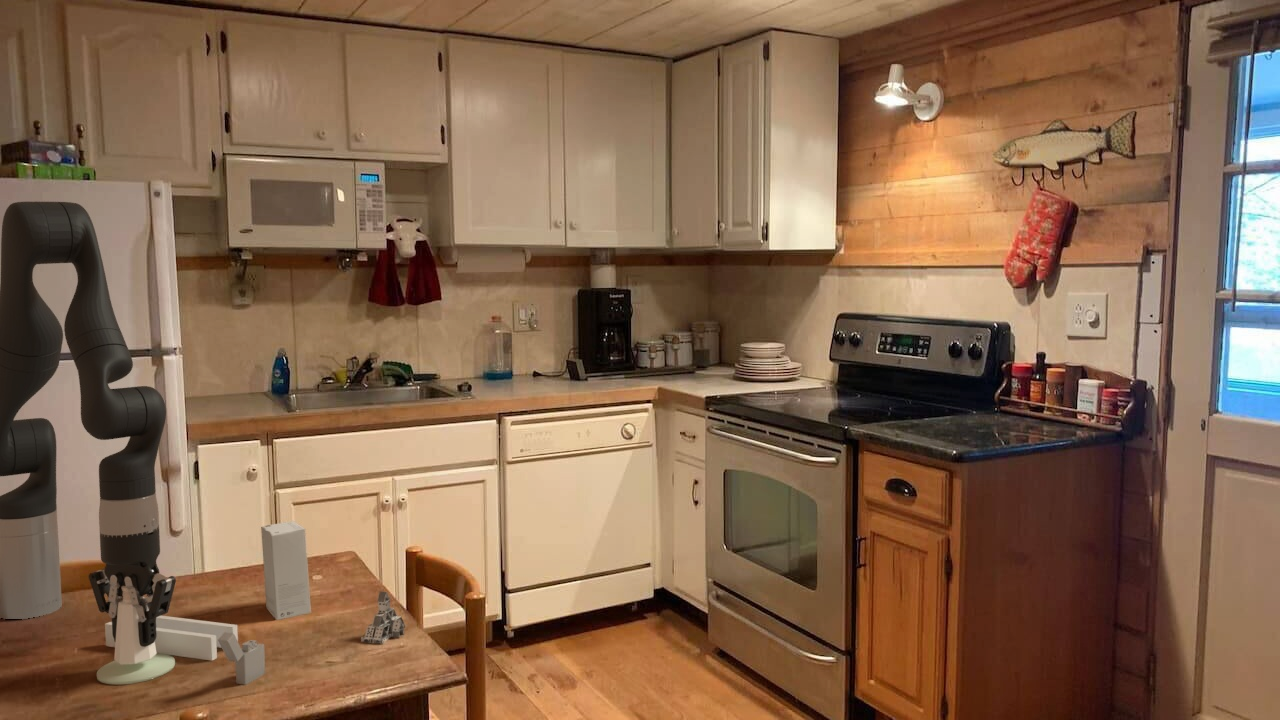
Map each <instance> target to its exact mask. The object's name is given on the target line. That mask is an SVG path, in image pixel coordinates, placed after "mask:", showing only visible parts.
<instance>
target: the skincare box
mask: <svg viewBox="0 0 1280 720" xmlns="http://www.w3.org/2000/svg"><path fill="white" fill-rule="evenodd" d="M260 533H261V544H262V546H261V547H262V559H263V562H262V563H263V576H264V577H263V578H264V591H265V604H266V607H265V608H266V609H267V610H268V612H269V613H270V614H271V615H272V617H273V618H274V619H275V620H276V621H280V620H285V619H289V618H290V619H291V618H294V617H298V616H303V615H308V614H312V610H311V609H312V608H311V597H310V581H309V579H310V577H309V566H308V565H309V564H308V553H307V539H306V538H307V537H306V534H307V533H306V528H304V527H303V526H302V525H300V524H298V523H297V522H296V521H294V520H293V521H286V522H279V523H274V524H273V523H272V524H267V525H262V526H260Z"/></svg>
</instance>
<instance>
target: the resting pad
mask: <svg viewBox="0 0 1280 720" xmlns="http://www.w3.org/2000/svg"><path fill="white" fill-rule="evenodd" d="M175 665H176V660H175V658H174V656H173V655H168V654H160V653H157V654H156V655H155V656H154V657H152V658H151V659H150V660H148V661H144V662H141V663H137V664H119V663H118V662H116V661H115V660H113V661H110V662H108V663H106V664H104V665H103V666H101V667H100V668H99V669H98V670H97V672H96V679H97V681H98V682H100V683H102V684H107V685H113V686H115V685H117V686H119V685H121V686H122V685H131V684H132V685H133V684H138V683H143V682H146V681H151V680H153V679H157V678H160V677H162V676H164V675H165V674H167V673H169V672H170V671H172V670H173V669H174V667H175Z"/></svg>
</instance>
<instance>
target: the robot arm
mask: <svg viewBox="0 0 1280 720" xmlns="http://www.w3.org/2000/svg"><path fill="white" fill-rule="evenodd" d="M0 250H1V251H0V477H8V476H9V477H10V476H18V475H24V474H29V476H28V478H27V479H26V480H25V481H24V482H23V483H22V484H21V485H19V486H18V487H16V488H14V489H12V490H10V491H8V492H6V493H4V494H1V495H0V617H1V618H4V619H3V620H5V619H22V620H28V618H30V619H34V618H33V617H35V618H40V617H43V615H44V616H47V615H50V614H52V613H54V612H56V611H58V610H60V609H61V608H62V606H63V604H62V603H63V601H62V580H61V566H60V565H61V563H60V559H61V558H60V545H59V541H60V540H59V528H58V526H59V525H58V510H57V509H58V507H57V495H58V494H57V489H58V488H57V487H58V486H57V438H56V437H57V436H56V431H55V428H54V426H53V424H52V423H51V421H50V420H49V419H47V418H44V417H37V418H36V417H35V418H24V419H23V418H22V419H15V417H16V416H17V414H18V413H19V411H20V410H21V409H22V407H23V406H24V405H25V404H27V403H28V401H30V400H31V399H32V397H34V396H35V395H36V394H37V393H38V392H39V391H40V390H42V388H43V387H44V386H45V385H46V384H47V383H48V382H49V381H50V380H51V379H52V377H53V376H54V375H55V374H56V372H57V369H58V368H59V365H60V360H61V353H62V348H63V347H62V346H63V343H64V342H63V341H64V336H65V341H66V345H67V346H68V349H69V352H70V354H71V357H72V360H73V363H74V365H75V367H76V371H77V374H78V381H79V391H80V419H81V423H82V427H83V428H84V430H85V431H86V432H87V433H88V434H89V435H90V436H91V437H93V438H94V439H96V440H101V441H107V440H116V439H122V438H123V439H124V438H129V439H128V441H127V444H126V445H125V447H124V448H123V449H122V450H119V451H117V452H115V453H113V454H110V455H107V456H105V457H103V458H102V460H100V462H99V464H98V465H99V466H98V482H99V483H98V484H99V509H98V526H99V529H98V530H99V545H100V549H99V550H100V560H101V562H103V564H105V565H104V568H102V569H99V570H95V571H92V572H90V573H89V575H88V579H89V583H90V585H91V589H92V593H93V595H94V599H95V601H96V604H97V607H98V611H99V612H100V613H102V614H103V613H106V614H108V617H110V618H111V622H112V633H113V637H114V641H115V642H116V628H117V614H118V604H119V602H120V601H122V600H123V596H122V595H123V591H122V588H121V587H122V586H126V588H128V590H129V594H130V598H131V602H132V606H133V607H136V610H137V614H138V618H139V620H140V621H139V622H138V631H139V643H140V646H143V647H146V646H148V645H150V644H152V643H154V641H155V640H156V618H157V617H159V616H165V615H166V614H168V613H169V610H170V605H171V602H172V599H173V593H174V589H175V587H176V582H177V580H176V577H175V576H174V575H170V576H165V575H163V574H161V573H160V569H159V566H158V564H157V559H158V557H159V556H160V554H161V539H160V538H161V537H160V516H159V512H160V511H159V504H158V499H157V493H156V492H157V491H156V490H157V488H156V473H155V472H156V471H155V466H156V461H157V457H158V453H159V449H160V443H161V439H162V436H163V432H164V428H165V424H166V420H167V419H166V417H167V407H166V403H165V400H164V397H163V396H162V394H161V393H160V392H159V391H158V389H156V388H155V387H152V386H147V385H141V386H127V387H117V388H111V387H110V386H109V384H112V383H115V382H117V381H120V380H121V379H123V378H126V377H127V376H128V375H129V374H130V373H131V371H132V370H133V366H134V362H133V358H132V355H131V353H130V350H129V348H128V345H127V343H126V340H125V337H124V335H123V332H122V330H121V327H120V326H119V323H118V321H117V318H116V314H115V311H114V308H113V304H112V300H111V296H110V291H109V286H108V282H107V277H106V271H105V267H104V262H103V259H102V258H103V257H102V254H101V250H100V246H99V242H98V237H97V233H96V230H95V226H94V224H93V221H92V219H91V217H90V215H89V212H88V211H87V210H86V209H85V207H84V206H83V205H81V204H79V203H77V202H71V201H70V202H68V201H17V202H13V203H10V205H8V207H7V208H6V210H5V212H4V215H3V219H2V226H1V241H0ZM49 264H52V265H53V264H72V265H73V266H74V268H75V271H76V275H77V285H76V287H75V292H74V294H73V296H72V299H71V302H70V304H69V307H68V309H67V311H66V315H65V319H64V324H63V325H64V326H63V327H64V329H63V328H62V325H61V322H60V321H59V319H58V318H57V316H56V314H55V312H53V310H52V309H51V307H50V306H48V304H47V303H46V302H45V300H44V299H43V297H42V296H41V295H40V294H39V292H38V290H37V288H36V286H35V285H34V281H33V274H34V273H33V271H34V268H35V267H36V265H49ZM63 332H64V333H63ZM105 595H106V596H105ZM145 595H146V596H145ZM141 596H143V597H144V598H142V599H141V598H140V597H141ZM105 597H107V601H106V598H105ZM146 603H147V606H148V610H149V611H147V612H146V608H145V604H146ZM60 607H61V608H60ZM46 614H47V615H46ZM39 616H40V617H39ZM1 618H0V619H1Z"/></svg>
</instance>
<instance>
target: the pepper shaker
mask: <svg viewBox="0 0 1280 720" xmlns="http://www.w3.org/2000/svg"><path fill="white" fill-rule="evenodd" d="M121 588H122V591H123V595H122V596H123V600H122V601H120V602H119V604H118V614H117V628H116V642H115V647H114V658H113V659H114V660H113V661H116V662H118V663H119V664H137V663H141V662H144V661H148V660H150V659H151V658H152V657H154V656H155V655H156V654H157V652H156V646H155V641H154V643H152V644H150V645H148V646H146V647H143V646H140V643H139V631H138V622H139V621H140V620H139V618H138V614H137V610H136V607H133V606H132V602H131V598H130V594H129V590H128V588H126V586H122V587H121ZM140 598H141V599H142V598H145V596H144V595H143V596H141V597H140ZM145 608H146V612H147V611H149V610H148V606H147V603H146V604H145Z"/></svg>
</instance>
